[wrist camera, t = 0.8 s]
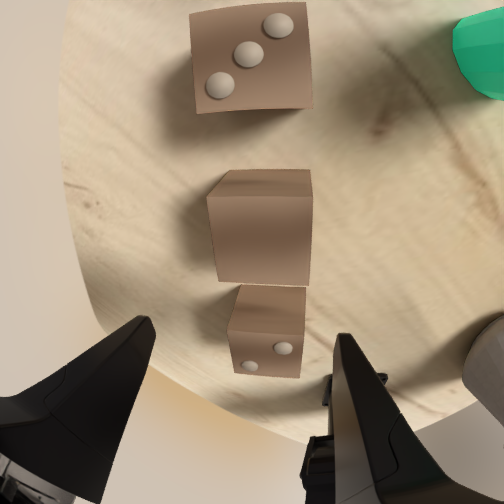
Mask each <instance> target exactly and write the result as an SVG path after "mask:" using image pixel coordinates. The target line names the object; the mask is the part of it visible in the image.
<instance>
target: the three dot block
mask: <svg viewBox="0 0 504 504" xmlns="http://www.w3.org/2000/svg"><path fill="white" fill-rule="evenodd" d="M189 21H190V38H191V53H192V66H193V79H194V91H195V102H196V112H197V114H203V113H212V112H222V111H235V110H250V109H278V108H308V109H313V96H312V74H311V56H310V42H309V29H308V18H307V8H306V2H283V3H263V4H251V5H242V6H233V7H226V8H220V9H214V10H208V11H203V12H198V13H193V14H189Z"/></svg>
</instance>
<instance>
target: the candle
mask: <svg viewBox="0 0 504 504" xmlns="http://www.w3.org/2000/svg"><path fill="white" fill-rule="evenodd" d="M452 50H453V53H454V55H455V58H456V60H457V63H458V65H459V68H460V71H461V73H462V74H463V75H464V76H465V78H466V79H467V80H468V81H469V83H470V84H471V85H472V86H473V88H474V89H475V90H476V91H478V92H480V93H482V94H484V95H486V96H488V97H490V98H491V99H497V100H503V101H504V7H500V8H496V9H493V10H489V11H485V12H482V13H479V14H475V15H472V16H469V17H466V18H463V19H461V21H460V22H459V23H458V24H457V26H456V27H455V28H454V29H453V47H452Z"/></svg>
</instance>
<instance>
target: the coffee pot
mask: <svg viewBox="0 0 504 504" xmlns="http://www.w3.org/2000/svg"><path fill="white" fill-rule="evenodd" d="M462 381H463V383H464V386H465V387H466V388H467V389H468V390H469V391H470V392H471V393H472V394H473V395H474V396H475V397H476V398H477V399H478V400H479V401H480V402H481V403H482V404H483V405H484V406H485V407H486V409H488V411H489V412H490V413H491V414H492V415H493V416H494V417H495V418H496V419H497V420H498V421H499V422H500V423H501V424H502V425H503V426H504V315H503V316H501V317H499V318H497V319H496V320H495V321H493V322H492V323H490V324H489V325H488V326H487V327H486V328H485V329H484V330H483V331H482V332H481V333H480V334H479V335H478V336H477V338H476V339H475V341H474V342H473V344H472V346H471V349H470V351H469V354H468V356H467V358H466V360H465V363H464V366H463V374H462Z"/></svg>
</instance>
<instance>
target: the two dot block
mask: <svg viewBox="0 0 504 504" xmlns="http://www.w3.org/2000/svg"><path fill="white" fill-rule="evenodd" d="M305 305H306V287H282V286H261V285H242V284H241V287H240V290H239V293H238V296H237V299H236V302H235V305H234V308H233V312H232V315H231V318H230V321H229V324H228V327H227V335H228V341H229V346H230V352H231V357H232V362H233V368H234V373H239V374H248V375H258V376H270V377H284V378H300V370H301V362H302V353H303V343H304V331H305Z"/></svg>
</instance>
